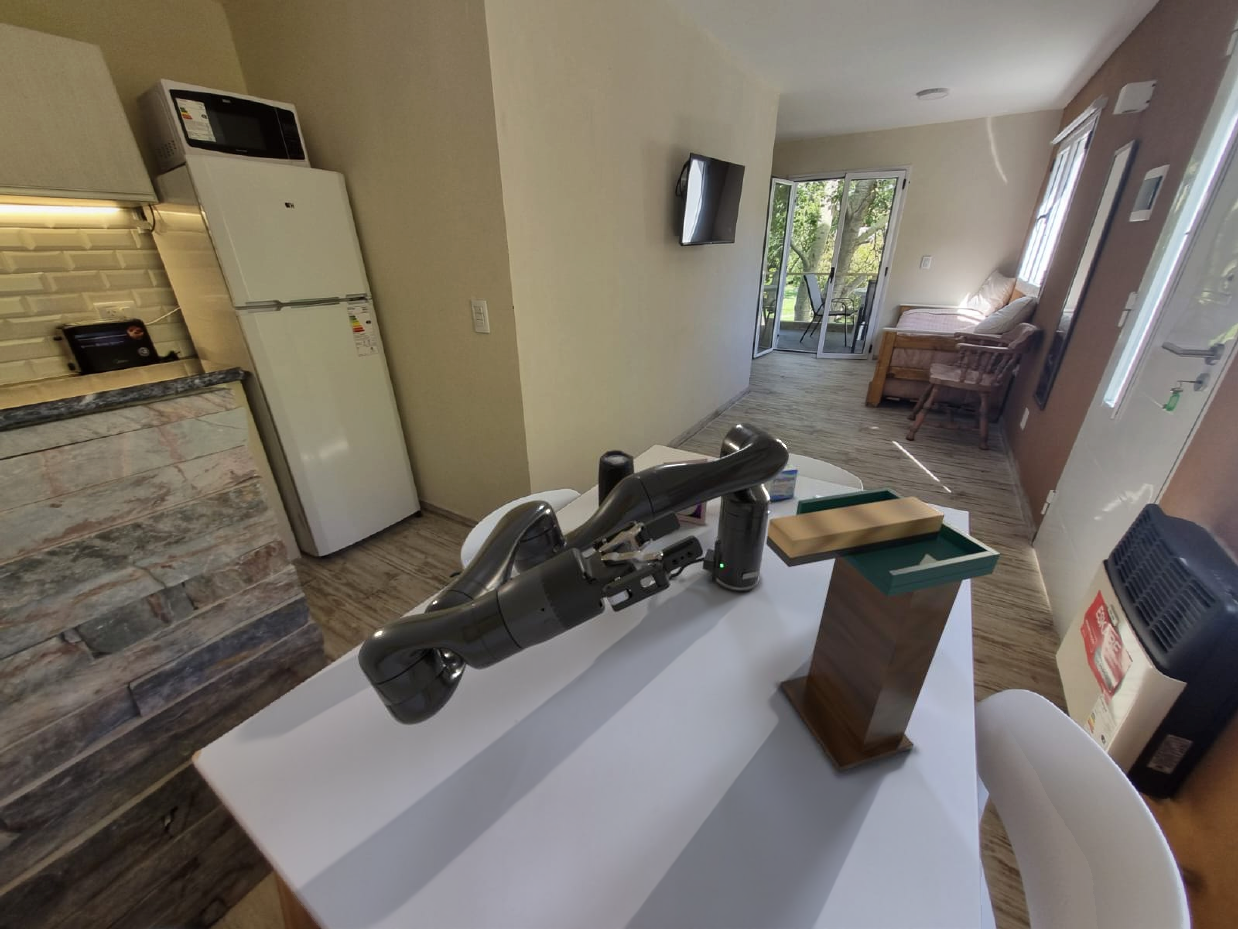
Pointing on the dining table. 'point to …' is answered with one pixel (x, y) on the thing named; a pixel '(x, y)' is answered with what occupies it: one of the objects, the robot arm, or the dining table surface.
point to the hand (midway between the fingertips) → (687, 530)
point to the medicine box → (783, 484)
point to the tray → (911, 551)
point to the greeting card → (696, 512)
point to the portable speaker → (613, 471)
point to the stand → (868, 666)
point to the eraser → (852, 530)
